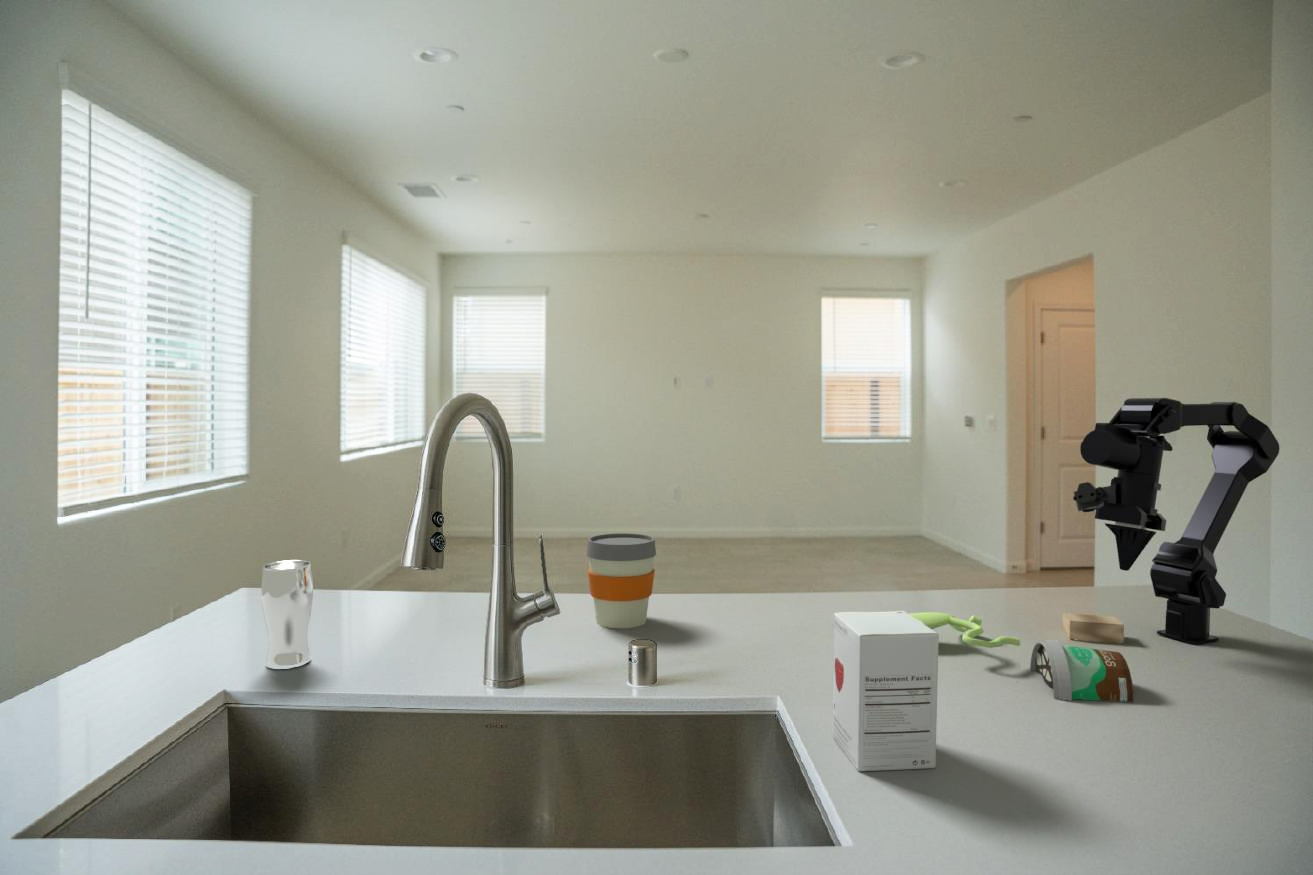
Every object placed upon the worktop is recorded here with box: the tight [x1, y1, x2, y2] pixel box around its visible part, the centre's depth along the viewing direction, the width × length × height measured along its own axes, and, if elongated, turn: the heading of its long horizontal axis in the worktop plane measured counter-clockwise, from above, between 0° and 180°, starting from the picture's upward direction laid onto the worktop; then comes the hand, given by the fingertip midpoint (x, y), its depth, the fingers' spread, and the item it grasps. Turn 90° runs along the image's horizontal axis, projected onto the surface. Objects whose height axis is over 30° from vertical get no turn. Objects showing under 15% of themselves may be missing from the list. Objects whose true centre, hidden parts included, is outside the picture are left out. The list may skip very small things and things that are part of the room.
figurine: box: [907, 611, 1021, 649], centre depth 123 cm, size 18×27×6 cm
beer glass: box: [260, 559, 314, 666], centre depth 114 cm, size 7×7×15 cm
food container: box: [1029, 638, 1134, 703], centre depth 106 cm, size 12×6×10 cm
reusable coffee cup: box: [586, 532, 657, 629], centre depth 137 cm, size 13×13×15 cm
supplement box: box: [832, 610, 940, 772], centre depth 85 cm, size 9×9×15 cm
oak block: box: [1061, 612, 1125, 645], centre depth 129 cm, size 8×5×4 cm, turn 74°
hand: (1124, 570), depth 122 cm, fingers closed
